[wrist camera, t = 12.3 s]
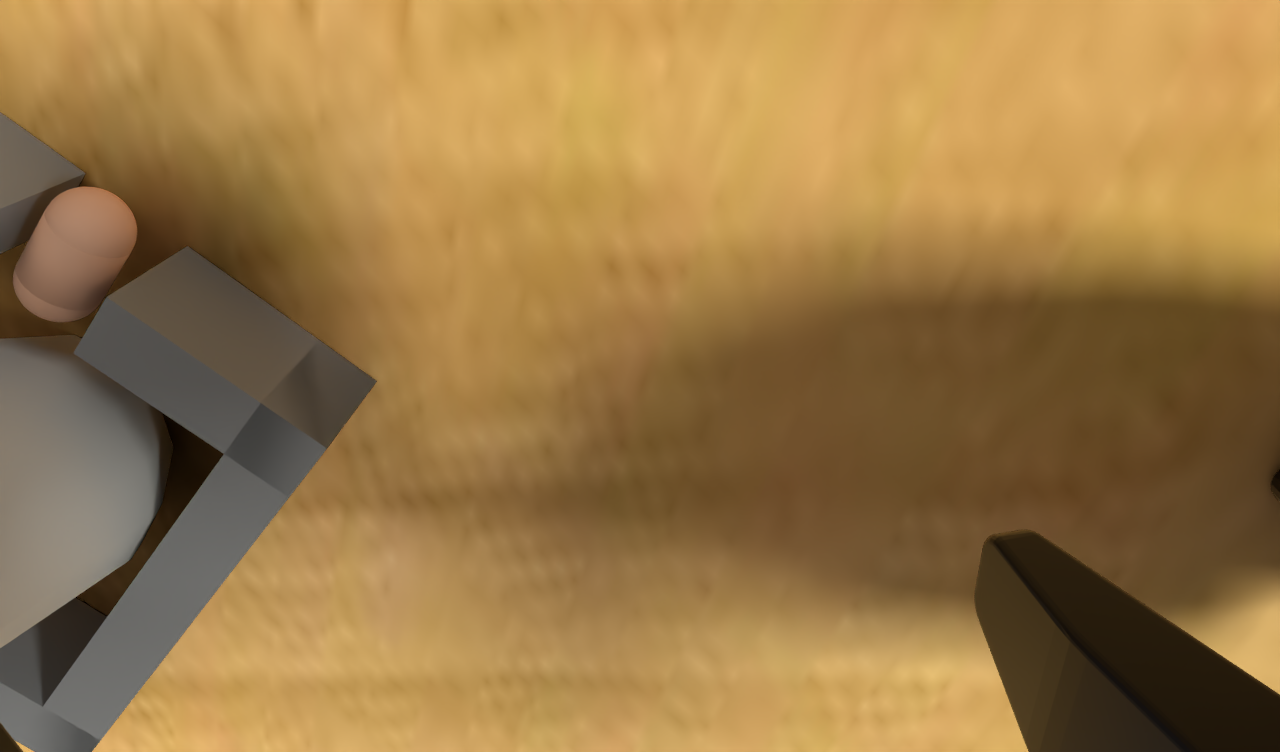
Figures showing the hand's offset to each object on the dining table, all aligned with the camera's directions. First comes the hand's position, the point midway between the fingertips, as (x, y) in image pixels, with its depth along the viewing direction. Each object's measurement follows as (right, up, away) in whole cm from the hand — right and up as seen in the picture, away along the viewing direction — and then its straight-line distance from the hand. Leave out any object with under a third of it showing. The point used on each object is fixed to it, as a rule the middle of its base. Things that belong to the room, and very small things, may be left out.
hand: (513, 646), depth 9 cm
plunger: (-10, +5, +11) cm, 15 cm away
